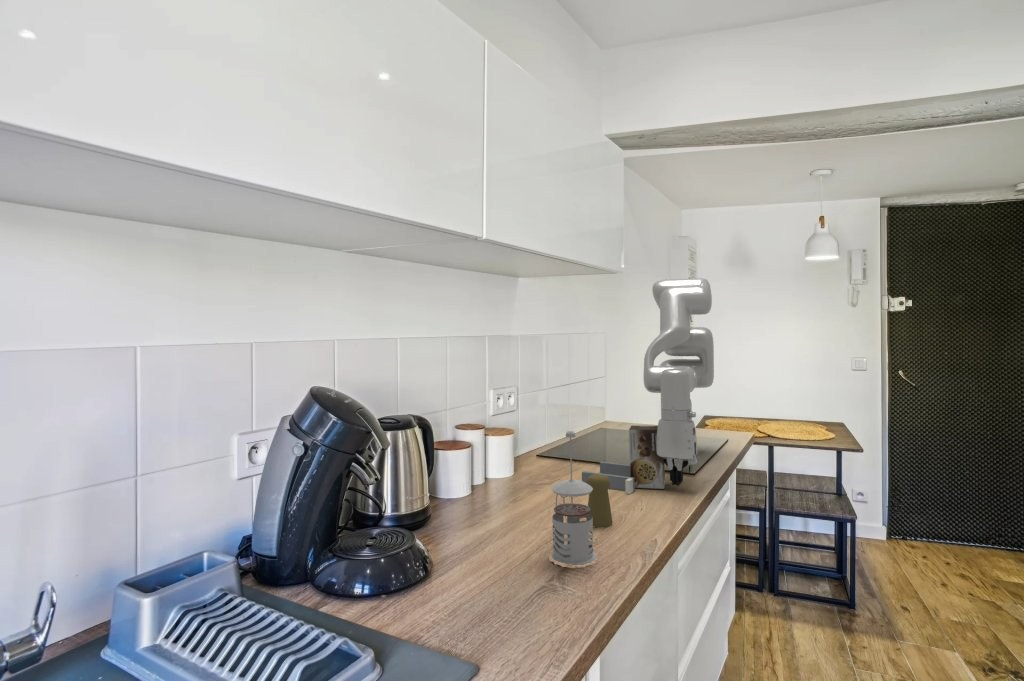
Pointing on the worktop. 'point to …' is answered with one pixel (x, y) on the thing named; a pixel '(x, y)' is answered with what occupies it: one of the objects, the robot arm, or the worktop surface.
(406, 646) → the worktop surface
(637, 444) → the coffee box
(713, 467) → the worktop surface
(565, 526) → the french press
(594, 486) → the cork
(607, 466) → the pair of grey bars
